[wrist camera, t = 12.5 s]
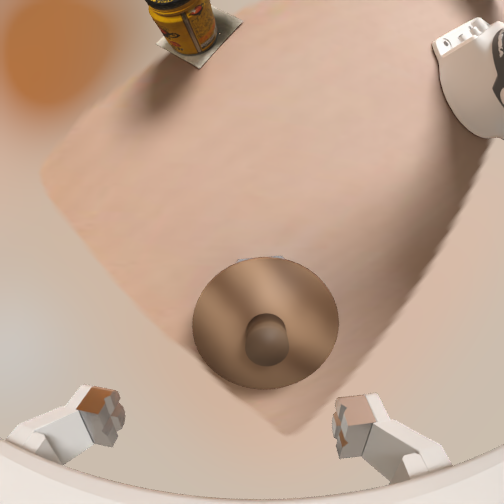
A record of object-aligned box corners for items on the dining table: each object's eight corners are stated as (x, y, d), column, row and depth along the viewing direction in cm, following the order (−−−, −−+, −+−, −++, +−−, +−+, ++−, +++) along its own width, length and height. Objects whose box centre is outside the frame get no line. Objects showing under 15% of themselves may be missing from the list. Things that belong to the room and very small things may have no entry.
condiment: (155, 44, 31) (120, -1, 19) (198, -1, 29) (180, -55, 17) (200, 69, 31) (176, 23, 20) (243, 22, 30) (239, -35, 18)
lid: (256, 225, 29) (257, 232, 25) (364, 316, 31) (378, 334, 27) (167, 333, 32) (155, 353, 28) (272, 404, 34) (273, 428, 30)
